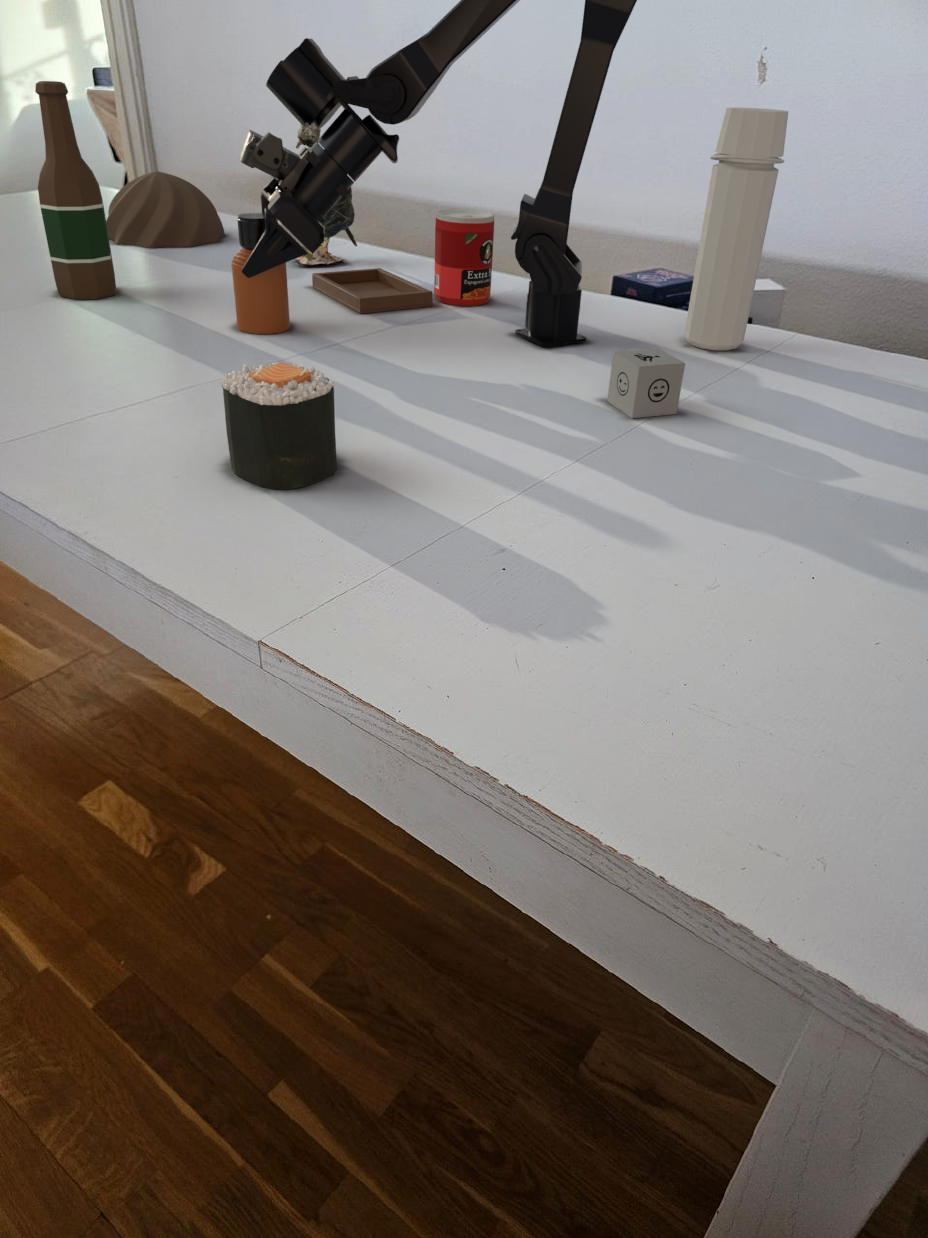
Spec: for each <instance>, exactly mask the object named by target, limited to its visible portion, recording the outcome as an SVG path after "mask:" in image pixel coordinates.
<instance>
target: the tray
mask: <svg viewBox="0 0 928 1238" xmlns="http://www.w3.org/2000/svg"><path fill="white" fill-rule="evenodd" d="M311 278H312V280H311V281H312V288H313V289H315V290H317V291H318V292H320V293H322V294H324V295H326V296H327V297H329V298H331V299H332V300H335V301H336V302H338V303H340V304H342V305H344V306H345V307H346V308H349V309H351V310H353V311H355V312H356V313H358V314H360V315H362V314H371V313H372V314H373V313H381V312H382V313H383V312H390V311H391V312H392V311H400V310H410V309H420V308H430V307H433V291H432V290H430V289H427V288H425V287H423V286H421V285H418V284H416V283H414V282H412V281H410V280H408V279H405V278H403V277H400V276H399V275H396V274H394V273H392V272H390V271H388V270H386V269H383V268H381V267H376V268H364V269H351V270H340V271H339V270H338V271H325V272H313V273H311Z"/></svg>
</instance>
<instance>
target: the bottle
mask: <svg viewBox="0 0 928 1238" xmlns="http://www.w3.org/2000/svg"><path fill="white" fill-rule="evenodd" d="M253 250H254V249H249V248H243V247H242V249H240V250H239V252H237V253H236V254H235V256H233V257H232V260H231V261H230V262H231V275H232V284H233V296H234V307H235V315H236V327H237V329H238V330H239V331H241V332H243V333H247V334H254V335H271V334H279V333H283V332H287V331H288V330H290V328H291V321H290V320H291V319H290V305H289V291H288V290H289V288H288V276H287V275H288V274H287V262H286V263H283V264H281V265H278V266H276V267H274V268H271V269H269V270H267V271H264V272H262V273H260V274H257V275H255V276H253V277H251V278H247V277H246V276H245V275H244V274H243V273H242V268H243V267H244V265H245V263H246V261H247V260H248V258H249V256H250V255H251V253H252V251H253Z"/></svg>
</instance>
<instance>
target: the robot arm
mask: <svg viewBox="0 0 928 1238" xmlns="http://www.w3.org/2000/svg"><path fill="white" fill-rule="evenodd" d="M520 1H521V0H459V1H458V3H456V4H455V5H454V6H453V7H452V8H451V9H450V10H449V11H448V12H447V13H446V14H445V15H444V16H443V17H442V18H441V19H440V20H439V21H438V22H436V24H435V25H434V26H433V27H432V28H431V29H430V30H429V31H427V32H426V33H425V34H423V35H422V36H420V37H419V38H417V39H416V40H414V41H413V42H410V43H409V44H407V45H405V46H404V47H402V48H401V49H399V50H397V51H395V53H393V54H391V55H390V56H389V57H387V58H385V59H383V61H381V62H380V63H378V64H377V65H375V66H374V67H372V68H371V69H370V70H369V72H368V73H367V75H366V77H363V78H360V77H359V76H358V75H354V76H347V77H346V78H345V77H344V76H343V75H342V73H341V72H340V71H338V69H337V68H336V67H335V66H334V65H333V63H332V62H331V61H330V60H329V59H328V58H327V57H326V55H325V54H324V53H323V51H322V49H321V48H320V47H321V46H319V44H317V43H316V42H315V40H314V39H313V38H308V37H307V38H306V37H305V38H304V39H302V40H303V41H301V43H300V44H299V45H298V47H296V48H294V49H293V50H292V51H291V52H290V53H289V54H288V55H287V56H286V57H285V58H284V59H281V60H280V61H279V62H278V63H277V64H276V66H275V67H274V68H273V70H272V72H271V73H270V74H269V77H268V79H267V80H266V84H265V86H266V88H267V89H268V90H269V91H270V92H271V93H272V94H273V96H275V97H276V98H277V99H278V101H279V102H280V103H281V104H282V106H284V108H286V109H287V111H288V112H289V113H290V114H291V115H293V117H294V118H295V119H296V120H297V121H298V122H299V124H300V125H301V124H302V125H303V127H304V128H307V127H309V126H311V125H312V124H313V123H314V124H315V126H316V127H317V128H318V129H322V128H323V127H324V126H325V125H326V124H327V123H328V122H329V121H330V120H331V119H332V117H333V116H335V114H336V113H337V111H338V110H339V109H340V108H341V107H342V108H343V110H342V111H341V112H340V114H339V115H338V116H337V117H336V118H335V119H334V121H333V122H332V123H331V124H330V125H329V126H328V128H326V130H325V131H324V132H323V133H322V135H320V137H319V139H318V140H317V141H318V143H317V142H316V143H315V144H314V145H313V146H312V147H311V148H310V147H308V146H304V147H303V148H302V149H301V150H300V151H299V152H298V153H296V152H293V151H292V150H290V149H288V148H287V147H284V146H283V144H284V143H283V139H282V138H281V137H278V136H276V135H274V134H272V133H271V132H269V131H268V132H267V133H266V134H265V135H261V134H260V133H257V132H256V131H254V130H251V129H249V130H248V132H247V135H246V137H245V141H244V144H243V147H242V149H241V152H240V155H239V162H240V163H241V164H243V165H245V166H247V167H249V168H250V169H254V168H255V169H257V170H259V171H261V172H263V173H265V174H267V175H269V176H270V177H269V178H268V179H267V180H266V182H265V183H263V185H262V186H261V188H262V190H263V191H260V195H259V196H260V205H261V213H264V214H265V225H266V228H265V231H264V233H263V235H262V236H261V238H260V240H259V241H258V243H257V245H256V246H255V248H254V250H253V251H252V253H251V255H250V256H249V258H248V260H247V261H246V263H245V265H244V267H243V268H242V273H243V274H244V275H245V276H246V277H247V278H251V277H253V276H255V275H257V274H260V273H262V272H264V271H267V270H269V269H271V268H274V267H276V266H278V265H281V264H283V263H286V264H287V263H288V262H291V261H294V260H293V259H296V258H298V257H301V256H303V255H304V256H305V255H307V254H308V250H309V251H310V252H311V253H312V254H313V253H314V252H315V251H316V250H317V249H318V248H319V247H320V245H322V243H323V242H324V228H323V226H322V224H323V222H324V221H325V218H324V216H325V215H326V214H327V213H328V212H329V210H330V209H331V208H332V207H333V206H334V205H335V204H336V203H337V202H338V200H339V199H340V198H341V197H343V198H344V199H345V198H346V197H347V196H348V194H349V193H350V191H349V190H348V189H349V188H350V187H351V188H352V186H353V185H354V184H355V183H356V181H357V180H358V179H359V178H360V177H361V176H362V175H363V174H364V172H365V171H366V170H367V169H368V168H369V167H370V166H371V165H372V163H373V162H374V161H375V160H376V159H377V158H378V157H379V156H380V154H381V153H383V154H384V155H385V157H386V158H387V159H389V161H390V162H391V163H392V164H397V163H398V161H399V158H398V145H399V142H400V136H399V135H398V134H396V133H395V134H388V133H387V132H386V131H385V130H384V128H383V127H382V126H381V125H380V124H379V123H378V122H380V123H382V124H385V125H392V126H393V125H398V124H401V123H403V122H406V121H408V120H411V119H412V118H413V117H415V116H416V115H417V114H418V113H419V112H420V110H421V109H422V107H424V105H425V104H426V102H427V101H428V100H429V98H430V97H431V96H432V94H433V93H434V92H435V90H436V89H437V87H438V86H439V84H440V83H441V81H442V80H443V79H444V77H445V75H446V74H447V73H448V71H449V70H450V69H451V67H452V66H453V65H454V63H455V62H457V61H458V60H459V59H460V58H461V57H462V56H463V55H464V54H465V53H466V52H467V51H468V50H469V49H470V48H472V46H474V44H476V43H477V42H478V41H479V40H480V39H481V38H482V37H483V36H485V34H486V33H488V31H490V30H491V29H492V28H493V26H495V25H496V24H497V23H498V22H499V21H500V20H501V19H502V18H503V17H504V16H505V15H507V14H508V12H510V10H512V9H513V8H514V7H515V6H516V5H517V4H518V3H519V2H520ZM637 2H638V0H584V8H583V14H582V15H583V17H582V23H581V34H580V41H579V45H578V49H577V52H576V56H575V60H574V63H573V67H572V71H571V74H570V75H571V76H570V78H569V81H568V86H567V89H566V93H565V98H564V101H563V105H562V108H561V113H560V116H559V119H558V123H557V126H556V131H555V133H554V138H553V142H552V146H551V149H550V153H549V157H548V160H547V163H546V167H545V171H544V174H543V178H542V181H541V183H540V186H539V187H538V190H537V192H536V193H535V197H532V196H530V195H529V194H527V193H523V196H522V198H521V200H520V202H519V203H520V204H519V211H518V212H519V215H518V222H517V224H516V225H515V227H514V229H513V231H512V234H511V236H510V239H511V241H514V240H516V242H515V245H514V246H515V247H514V255H515V259H516V261H517V263H518V265H519V267H520V268H521V269H522V270H523V271H524V272H525V273H527V274H529V277H530V278H529V279H530V280H529V282H528V292H527V295H526V307H525V320H524V321H525V322H524V326H525V328H518V329H514V334H515V335H516V336H519V337H520V338H523V339H525V340H528V341H529V342H532V343H534V344H536V345H538V346H540V347H542V348H543V347H544V348H548V347H557V346H564V345H571V344H578V343H585V342H587V341H588V337H587V336H585V335H583V334H581V333H578V330H579V320H580V311H581V302H582V301H581V300H582V294H583V293H582V291H583V290H582V289H581V288H580V283H581V281H582V278H583V274H582V273H583V272H582V271H583V269H582V268H583V266H582V265H583V262H582V260H581V259H580V258H579V256H578V255H577V254H576V253H575V251H574V250H573V249H572V248H571V247H570V245H569V244H568V238H569V237H568V236H569V229H570V221H571V212H572V203H573V195H574V189H575V187H576V182H577V179H578V176H579V172H580V169H581V165H582V163H583V158H584V156H585V151H586V148H587V145H588V142H589V138H590V134H591V131H592V128H593V124H594V121H595V118H596V113H597V109H598V106H599V103H600V100H601V96H602V92H603V90H604V85H605V82H606V79H607V76H608V72H609V68H610V65H611V62H612V59H613V58H612V57H613V54H614V51H615V49H616V46H617V44H618V43H619V40H620V38H621V36H622V34H623V31H624V29H625V27H626V25H627V23H628V21H629V20H630V17H631V14H632V12H633V10H634V8H635V6H636V3H637ZM351 106H355V107H359V108H363V109H368V112H369V113H370V114H368V115H366V116H365V117H364V118H363V119H362V118H361V117H360V116H359V115H358V113H356V111H355V110H354V109H353V108H352V107H351ZM376 120H377V121H376ZM264 192H265V193H264ZM266 194H268V195H266ZM304 246H305V247H306V248H307V249H308V250H307V249H306V248H305V247H304Z"/></svg>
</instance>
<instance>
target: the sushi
mask: <svg viewBox="0 0 928 1238" xmlns="http://www.w3.org/2000/svg"><path fill="white" fill-rule="evenodd" d="M258 366H259V367H257V366H252V367H251V365H250V364H247V363H244V364H243V365H242V369H239V370H237V371H236V370H232V372H228V374H224V375H223V378H222V380H220V381H219V384H220V386H221V387H222V395H223V406H224V407H223V408H224V416H225V417H224V418H225V419H224V420H225V429H226V436H227V437H226V438H227V446H228V453H229V460H230V467H231V468H230V469H231V471H232V472H233V473H234V474H235V475H236V476H238V477H240V478H242V479H244V480H246V481H248V482H250V483H252V484H254V485H256V486H258V487H261V488H266V489H270V490H292V489H300V488H303V487H306V486H309V485H312V484H314V483H317V482H319V481H322V480H325V479H326V478H329V477H330V476H332V475H334V474H335V473H336V471H337V469H338V462H337V461H338V459H337V441H336V417H335V416H336V414H335V410H336V409H335V381H332V380H330V379H329V378H328V377H326V376H325V373H324V372H322V371H321V370H320V369H317V370H316V368H315V366H311V367H310V368H309V369H308V368H305V367H304V364H295V363H293V365H292V364H291V365H290V364H287V363H285V362H279V361H276V362H271V363H267V365H266V364H265V363H261V364H259V365H258Z"/></svg>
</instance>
